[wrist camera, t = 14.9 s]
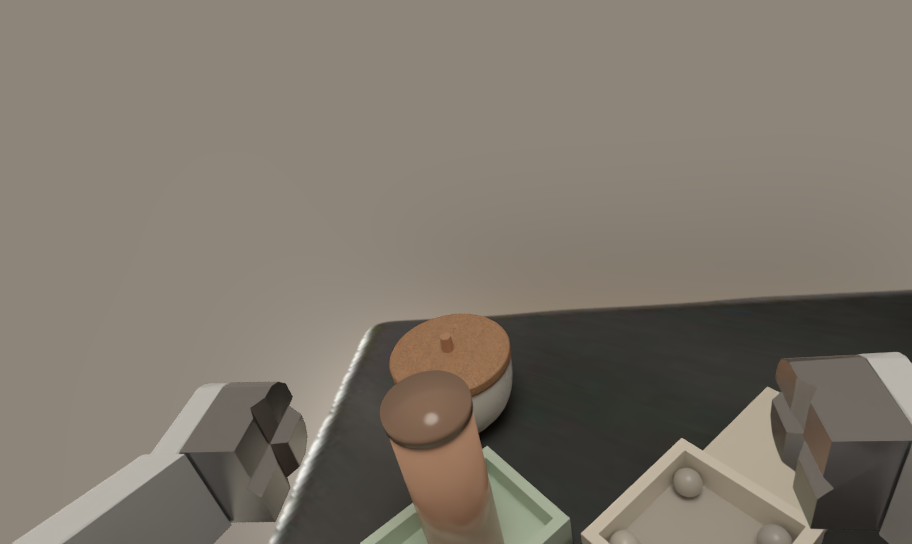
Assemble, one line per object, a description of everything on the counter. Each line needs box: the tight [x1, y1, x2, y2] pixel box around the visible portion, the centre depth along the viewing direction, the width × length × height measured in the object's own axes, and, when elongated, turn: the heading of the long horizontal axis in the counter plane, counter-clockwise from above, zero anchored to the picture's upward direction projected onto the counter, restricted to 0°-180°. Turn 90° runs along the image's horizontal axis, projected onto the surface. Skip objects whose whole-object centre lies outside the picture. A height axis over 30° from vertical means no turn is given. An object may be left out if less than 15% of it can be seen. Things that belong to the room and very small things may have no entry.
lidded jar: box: [389, 314, 513, 433], centre depth 50 cm, size 11×11×9 cm
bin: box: [581, 387, 827, 544], centre depth 39 cm, size 22×10×4 cm, turn 127°
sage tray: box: [360, 446, 573, 544], centre depth 40 cm, size 12×9×3 cm
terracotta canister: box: [380, 370, 504, 544], centre depth 36 cm, size 5×5×15 cm
